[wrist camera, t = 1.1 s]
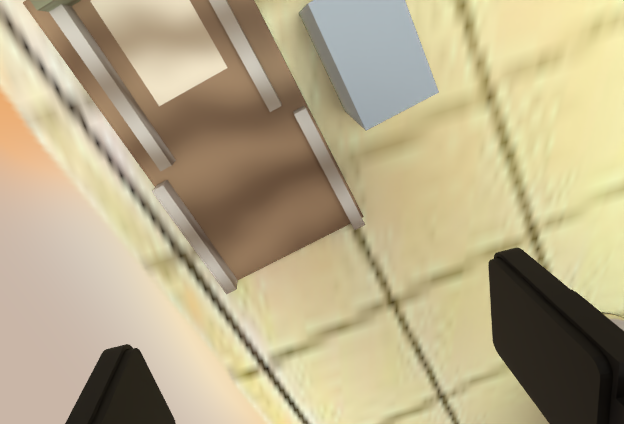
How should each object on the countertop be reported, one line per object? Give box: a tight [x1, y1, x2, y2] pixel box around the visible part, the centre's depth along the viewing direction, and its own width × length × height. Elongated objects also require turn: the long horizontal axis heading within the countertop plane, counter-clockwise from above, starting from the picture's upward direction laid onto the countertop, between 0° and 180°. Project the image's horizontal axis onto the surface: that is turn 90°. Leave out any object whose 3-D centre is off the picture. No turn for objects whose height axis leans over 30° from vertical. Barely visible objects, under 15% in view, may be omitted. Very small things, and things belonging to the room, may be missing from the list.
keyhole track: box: [23, 0, 365, 294], centre depth 31 cm, size 26×14×3 cm, turn 27°
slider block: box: [299, 0, 439, 130], centre depth 28 cm, size 8×5×8 cm, turn 27°
